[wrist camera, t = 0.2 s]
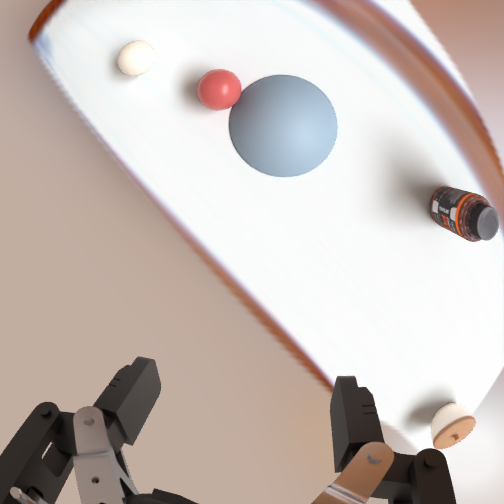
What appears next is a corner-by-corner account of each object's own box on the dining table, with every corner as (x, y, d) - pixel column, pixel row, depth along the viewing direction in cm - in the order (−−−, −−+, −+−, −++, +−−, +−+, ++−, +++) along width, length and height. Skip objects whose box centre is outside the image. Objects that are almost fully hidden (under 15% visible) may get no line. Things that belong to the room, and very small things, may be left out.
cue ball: (130, 51, 33) (112, 41, 28) (162, 43, 32) (146, 31, 27) (128, 82, 34) (108, 74, 29) (160, 75, 34) (143, 65, 29)
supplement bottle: (422, 213, 35) (463, 233, 25) (439, 178, 33) (484, 187, 23) (448, 233, 35) (490, 257, 25) (465, 199, 33) (510, 214, 23)
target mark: (229, 77, 33) (229, 76, 33) (335, 77, 31) (335, 77, 31) (230, 176, 37) (230, 176, 37) (336, 179, 36) (337, 179, 35)
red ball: (204, 78, 33) (191, 66, 28) (244, 74, 33) (237, 61, 28) (204, 114, 35) (190, 108, 30) (244, 112, 34) (237, 104, 29)
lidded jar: (463, 413, 46) (475, 439, 37) (425, 432, 49) (435, 460, 40) (465, 388, 44) (480, 416, 35) (424, 409, 46) (436, 440, 37)
